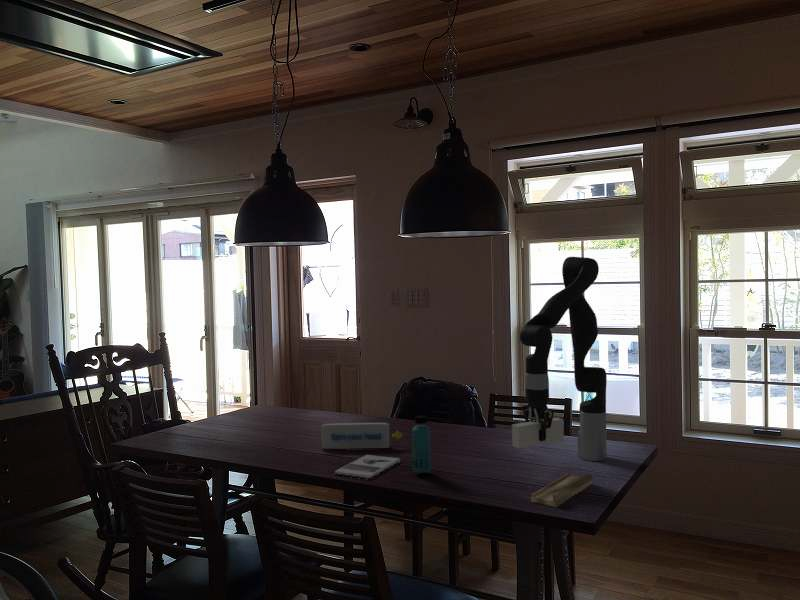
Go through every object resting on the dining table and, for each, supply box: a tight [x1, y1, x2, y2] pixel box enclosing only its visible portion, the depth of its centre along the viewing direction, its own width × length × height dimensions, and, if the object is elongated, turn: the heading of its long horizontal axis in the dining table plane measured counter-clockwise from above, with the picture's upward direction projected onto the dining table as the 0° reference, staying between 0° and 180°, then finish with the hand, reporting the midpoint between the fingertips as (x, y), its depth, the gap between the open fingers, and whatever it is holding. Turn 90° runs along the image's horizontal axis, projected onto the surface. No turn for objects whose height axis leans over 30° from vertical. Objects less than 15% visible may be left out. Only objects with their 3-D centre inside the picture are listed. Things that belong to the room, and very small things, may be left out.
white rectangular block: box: [511, 417, 565, 450], centre depth 209 cm, size 4×18×7 cm, turn 116°
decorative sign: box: [320, 422, 403, 449], centre depth 256 cm, size 32×4×10 cm, turn 89°
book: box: [334, 454, 401, 478], centre depth 228 cm, size 23×14×2 cm, turn 154°
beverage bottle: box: [411, 415, 432, 473], centre depth 219 cm, size 6×7×20 cm
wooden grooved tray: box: [530, 472, 593, 508], centre depth 197 cm, size 8×26×4 cm, turn 141°
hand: (538, 439), depth 209 cm, fingers closed on white rectangular block, 3 cm apart
